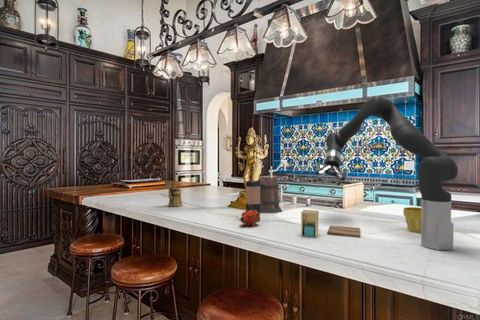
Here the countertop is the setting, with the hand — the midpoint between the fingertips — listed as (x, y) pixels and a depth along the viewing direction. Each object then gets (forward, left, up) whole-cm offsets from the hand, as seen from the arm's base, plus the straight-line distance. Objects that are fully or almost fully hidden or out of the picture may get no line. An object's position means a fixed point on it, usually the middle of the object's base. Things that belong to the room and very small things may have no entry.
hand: (329, 182), depth 144 cm
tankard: (+39, +22, -21) cm, 49 cm away
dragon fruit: (+5, +38, -21) cm, 43 cm away
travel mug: (+18, +34, -21) cm, 43 cm away
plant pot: (-15, -34, -21) cm, 43 cm away
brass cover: (-15, +16, -21) cm, 30 cm away
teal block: (-15, +16, -21) cm, 30 cm away
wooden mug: (+64, +78, -21) cm, 103 cm away
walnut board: (-13, -1, -21) cm, 24 cm away
